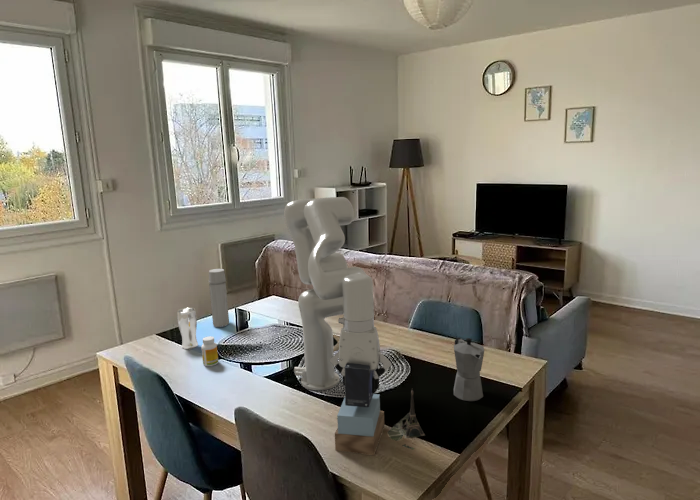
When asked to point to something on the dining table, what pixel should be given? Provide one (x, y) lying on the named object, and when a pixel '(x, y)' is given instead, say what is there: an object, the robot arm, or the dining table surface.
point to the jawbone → (337, 343)
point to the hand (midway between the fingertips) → (361, 389)
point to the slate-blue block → (359, 418)
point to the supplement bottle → (209, 351)
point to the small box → (358, 385)
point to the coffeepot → (468, 370)
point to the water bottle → (218, 297)
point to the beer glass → (188, 327)
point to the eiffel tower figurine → (409, 430)
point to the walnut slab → (360, 440)
